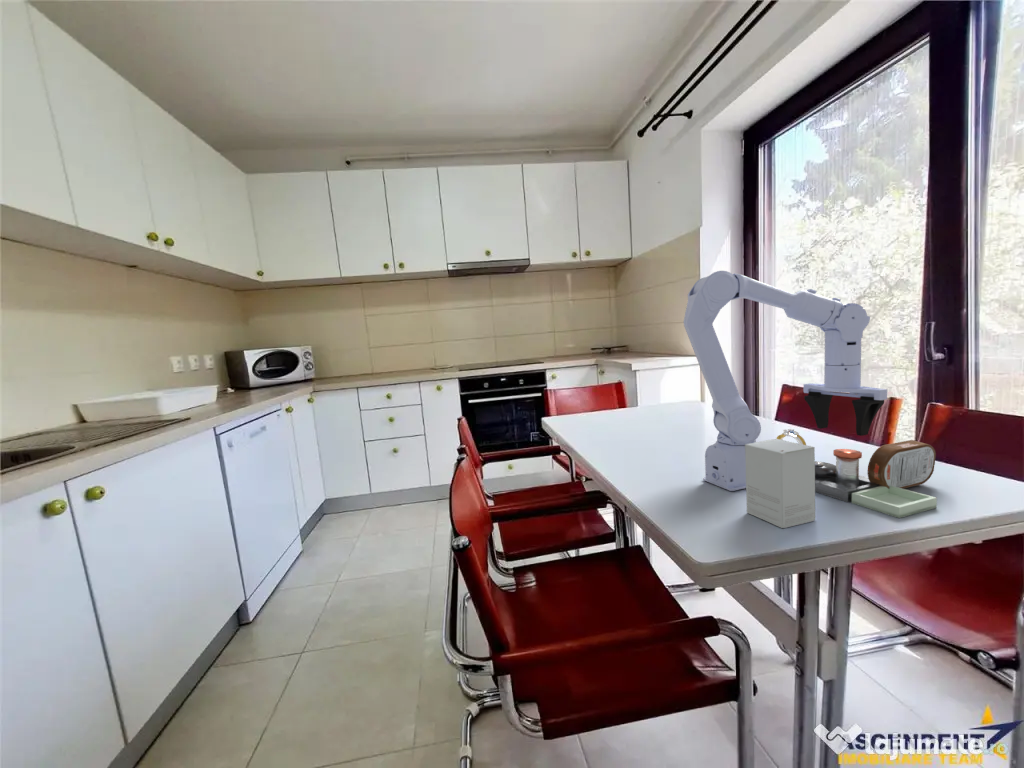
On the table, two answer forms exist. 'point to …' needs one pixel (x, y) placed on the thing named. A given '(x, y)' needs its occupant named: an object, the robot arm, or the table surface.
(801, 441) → the ring
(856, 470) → the jar with copper lid
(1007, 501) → the table surface
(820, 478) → the tensioner block
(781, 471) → the supplement box
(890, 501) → the tray
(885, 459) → the tin
